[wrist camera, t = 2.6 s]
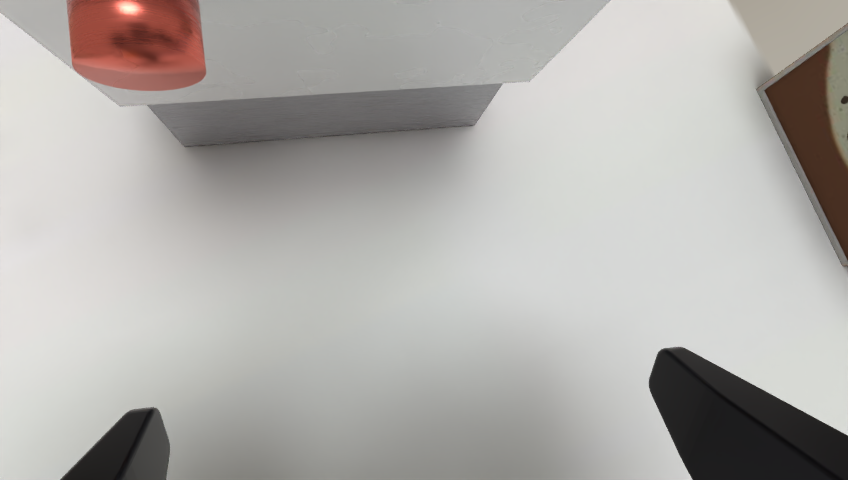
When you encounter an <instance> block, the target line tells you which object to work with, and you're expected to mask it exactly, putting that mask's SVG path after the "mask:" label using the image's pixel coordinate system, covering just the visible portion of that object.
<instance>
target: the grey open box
mask: <svg viewBox="0 0 848 480" xmlns="http://www.w3.org/2000/svg"><path fill="white" fill-rule="evenodd" d="M502 84H503V83H499V84H483V85H466V86H450V87H433V88H417V89H400V90H384V91H367V92H351V93H334V94H318V95H301V96H285V97H268V98H252V99H235V100H219V101H202V102H186V103H169V104H153V105H147V106H148V107H149V108H150V109H151V110H152V111H153V112H154V113H155V114H156V116H157V117H158V118H159V119H160V120H161V121H162V122H163V123H164V125H165V126H166V127H167V128H168V129H169V130H170V131H171V132H172V134H173V135H174V136H175V137H176V138H177V139H178V140H179V141H180V142H181V144H182V145H183V146H184V147H187V146H200V145H213V144H227V143H240V142H254V141H267V140H280V139H294V138H307V137H321V136H334V135H348V134H361V133H374V132H388V131H401V130H415V129H428V128H441V127H455V126H468V125H475V124H476V122H477V121H478V119H479V118H480V116H481V115H482V114H483V112H484V111H485V109H486V108H487V106H488V105H489V103H490V102H491V100H492V99H493V97H494V96H495V94H496V93H497V91H498V90H499V88H500V87H501V85H502Z"/></svg>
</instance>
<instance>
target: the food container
mask: <svg viewBox="0 0 848 480" xmlns="http://www.w3.org/2000/svg"><path fill="white" fill-rule="evenodd" d="M756 90H757V92H758V94H759V96H760V98H761V100H762V102H763V104H764V106H765V108H766V110H767V112H768V114H769V116H770V118H771V120H772V123H773V125H774V127H775V129H776V131H777V133H778V135H779V137H780V139H781V141H782V143H783V145H784V147H785V149H786V151H787V153H788V155H789V157H790V159H791V161H792V163H793V166H794V168H795V170H796V172H797V174H798V176H799V178H800V180H801V182H802V184H803V186H804V188H805V190H806V192H807V194H808V196H809V198H810V200H811V202H812V204H813V207H814V209H815V211H816V213H817V215H818V217H819V219H820V221H821V223H822V225H823V227H824V229H825V231H826V233H827V235H828V237H829V239H830V241H831V243H832V245H833V248H834V250H835V252H836V254H837V256H838V258H839V260H840V262H841V264H842V266H848V23H847V24H846V25H845V26H843V27H842V28H840V29H839V30H838V31H836V32H835V33H834V34H832V35H831V36H829V37H828V38H827V39H825V40H824V41H822V42H821V43H820V44H819V45H817V46H816V47H814V48H813V49H811V50H810V51H809V52H807V53H806V54H804V55H803V56H802V57H800V58H799V59H798V60H796V61H795V62H793V63H792V64H791V65H789V66H788V67H787V68H785V69H784V70H782V71H781V72H780V73H778V74H777V75H775V76H774V77H773V78H771V79H770V80H769V81H767V82H766V83H764V84H763V85H762V86H760V87H759V88H757V89H756Z"/></svg>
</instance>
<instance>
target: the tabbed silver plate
mask: <svg viewBox="0 0 848 480" xmlns="http://www.w3.org/2000/svg"><path fill="white" fill-rule="evenodd" d="M609 1H610V0H0V13H1V14H3V15H4V16H5V17H7V18H8V19H9V20H10V21H12V22H13V23H14V24H15V25H17V26H18V27H19V28H21V29H22V30H23V31H24V32H26V33H27V34H28V35H29V36H31V37H32V38H33V39H35V40H36V41H37V42H38V43H40V44H41V45H42V46H43V47H45V48H46V49H47V50H49V51H50V52H51V53H52V54H54V55H55V56H56V57H58V58H59V59H60V60H61V61H63V62H64V63H65V64H66V65H68V66H69V67H70V68H72V69H73V70H74V71H75V72H77V73H78V74H79V75H80V76H82V77H83V78H84V79H86V80H87V81H88V82H89V83H91V84H92V85H93V86H94V87H96V88H97V89H98V90H100V91H101V92H102V93H103V94H105V95H106V96H107V97H108V98H110V99H111V100H112V101H114V102H115V103H116V104H117V105H119V106H137V105H153V104H169V103H186V102H202V101H219V100H235V99H252V98H268V97H285V96H301V95H318V94H334V93H351V92H367V91H384V90H400V89H417V88H433V87H450V86H466V85H483V84H499V83H515V82H530V81H531V80H532V79H533V78H534V77H535V76H536V75H537V74H538V73H539V72H540V71H541V70H542V69H543V68H544V67H545V66H546V65H547V64H548V63H549V62H550V61H551V60H552V59H553V58H554V57H555V56H556V55H557V54H558V53H559V52H560V51H561V50H562V49H563V48H564V47H565V46H566V45H567V44H568V43H569V42H570V41H571V40H572V39H573V38H574V37H575V36H576V35H577V34H578V33H579V32H580V31H581V30H582V29H583V28H584V27H585V26H586V25H587V24H588V23H589V22H590V20H591V19H592V18H593V17H594V16H595V15H596V14H597V13H598V12H599V11H600V10H601V9H602V8H603V7H604V6H605V5H606V4H607V3H608V2H609Z"/></svg>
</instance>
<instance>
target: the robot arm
mask: <svg viewBox="0 0 848 480" xmlns="http://www.w3.org/2000/svg"><path fill="white" fill-rule="evenodd" d="M649 388H650V392H651V394H652V396H653V399H654V401H655V403H656V405H657V407H658V409H659V412H660V414H661V416H662V418H663V420H664V422H665V425H666V427H667V429H668V431H669V433H670V435H671V438H672V440H673V442H674V444H675V446H676V448H677V450H678V453H679V455H680V457H681V459H682V461H683V463H684V465H685V467H686V468H687V470H688V472H689V474H690V476H691V477H692V479H693V480H848V436H847V435H846V434H844V433H842V432H840V431H838V430H836V429H834V428H833V427H831V426H829V425H827V424H825V423H823V422H821V421H819V420H818V419H816V418H814V417H812V416H810V415H808V414H806V413H805V412H803V411H801V410H799V409H797V408H795V407H793V406H792V405H790V404H788V403H786V402H784V401H782V400H780V399H779V398H777V397H775V396H773V395H771V394H769V393H767V392H765V391H764V390H762V389H760V388H758V387H756V386H754V385H752V384H751V383H749V382H747V381H745V380H743V379H741V378H739V377H738V376H736V375H734V374H732V373H730V372H728V371H726V370H725V369H723V368H721V367H719V366H717V365H715V364H713V363H711V362H710V361H708V360H706V359H704V358H702V357H700V356H698V355H697V354H695V353H693V352H691V351H689V350H687V349H685V348H683V347H673V348H664V349H661V350H660V351H659V352H658V354H657V357H656V360H655V363H654V366H653V369H652V372H651V375H650V378H649ZM169 455H170V444H169V439H168V436H167V433H166V430H165V427H164V424H163V420H162V417H161V414H160V412H159V410H158V409H157V408H154V407H151V408H142V409H133V410H130V411H129V412H127V413H126V414H125V415H124V416H123V417H122V418H121V419H120V420H119V421H118V422H117V423H116V424H115V425H114V426H113V427H112V428H111V429H110V430H109V431H108V432H107V433H106V434H105V435H104V436H103V437H102V438H101V439H100V440H99V441H98V442H97V443H96V444H95V445H94V446H93V447H92V448H91V449H90V450H89V451H88V452H87V453H86V454H85V455H84V456H83V457H82V458H81V459H80V460H79V461H78V462H77V463H76V464H75V465H74V466H73V467H72V468H71V469H70V470H69V471H68V472H67V473H66V474H65V475H64V476H63V477H62V478H61V479H60V480H166V476H167V469H168V462H169Z"/></svg>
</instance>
